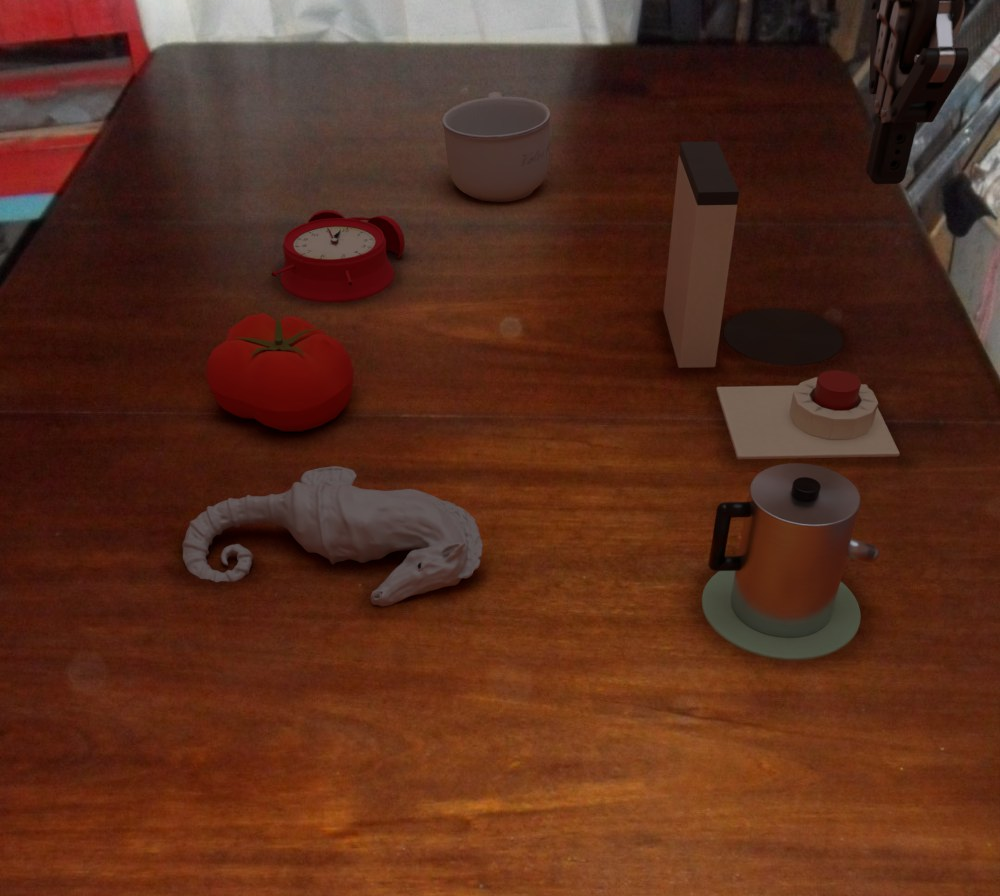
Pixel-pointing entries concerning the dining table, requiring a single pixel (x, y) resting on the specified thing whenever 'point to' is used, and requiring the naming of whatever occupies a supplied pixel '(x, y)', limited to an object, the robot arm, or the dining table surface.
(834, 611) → the disc
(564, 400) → the dining table surface
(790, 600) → the kettle
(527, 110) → the teacup
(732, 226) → the tower
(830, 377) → the power button
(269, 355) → the tomato
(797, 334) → the coffee maker plate
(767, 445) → the cream button base
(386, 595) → the seahorse
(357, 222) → the alarm clock
